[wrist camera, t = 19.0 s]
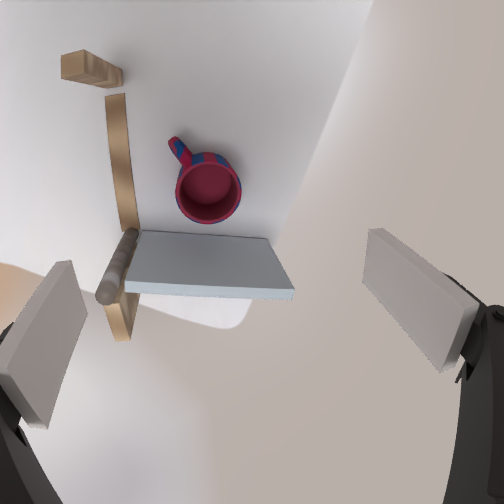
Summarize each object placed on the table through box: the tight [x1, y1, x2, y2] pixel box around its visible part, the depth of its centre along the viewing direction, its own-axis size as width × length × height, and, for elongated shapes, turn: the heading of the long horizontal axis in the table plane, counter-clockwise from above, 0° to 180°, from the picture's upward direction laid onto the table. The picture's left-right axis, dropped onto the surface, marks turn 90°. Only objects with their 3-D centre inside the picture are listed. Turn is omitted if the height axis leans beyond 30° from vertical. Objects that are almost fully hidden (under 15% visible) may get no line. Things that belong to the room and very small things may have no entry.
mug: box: [168, 136, 242, 224], centre depth 34 cm, size 7×10×7 cm
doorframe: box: [61, 49, 140, 341], centre depth 29 cm, size 26×2×15 cm, turn 2°
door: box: [125, 231, 295, 300], centre depth 35 cm, size 16×3×13 cm, turn 81°
